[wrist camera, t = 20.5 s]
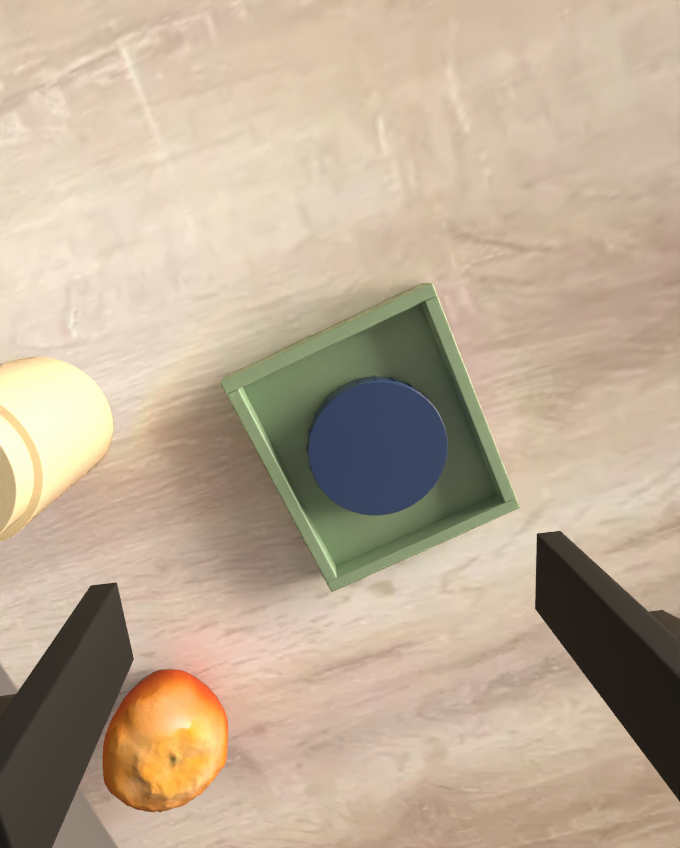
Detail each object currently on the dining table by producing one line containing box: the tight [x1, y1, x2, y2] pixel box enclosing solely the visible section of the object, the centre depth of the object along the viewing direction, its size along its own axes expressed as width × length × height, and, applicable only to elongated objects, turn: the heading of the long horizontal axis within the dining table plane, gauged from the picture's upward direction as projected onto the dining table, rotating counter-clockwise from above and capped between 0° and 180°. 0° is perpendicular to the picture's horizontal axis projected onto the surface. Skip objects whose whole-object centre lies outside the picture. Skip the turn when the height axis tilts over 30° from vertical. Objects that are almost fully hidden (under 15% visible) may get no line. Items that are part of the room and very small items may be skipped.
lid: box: [307, 375, 448, 515], centre depth 32 cm, size 9×9×2 cm
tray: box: [220, 283, 520, 592], centre depth 33 cm, size 16×14×2 cm
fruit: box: [102, 670, 228, 812], centre depth 35 cm, size 8×8×8 cm
